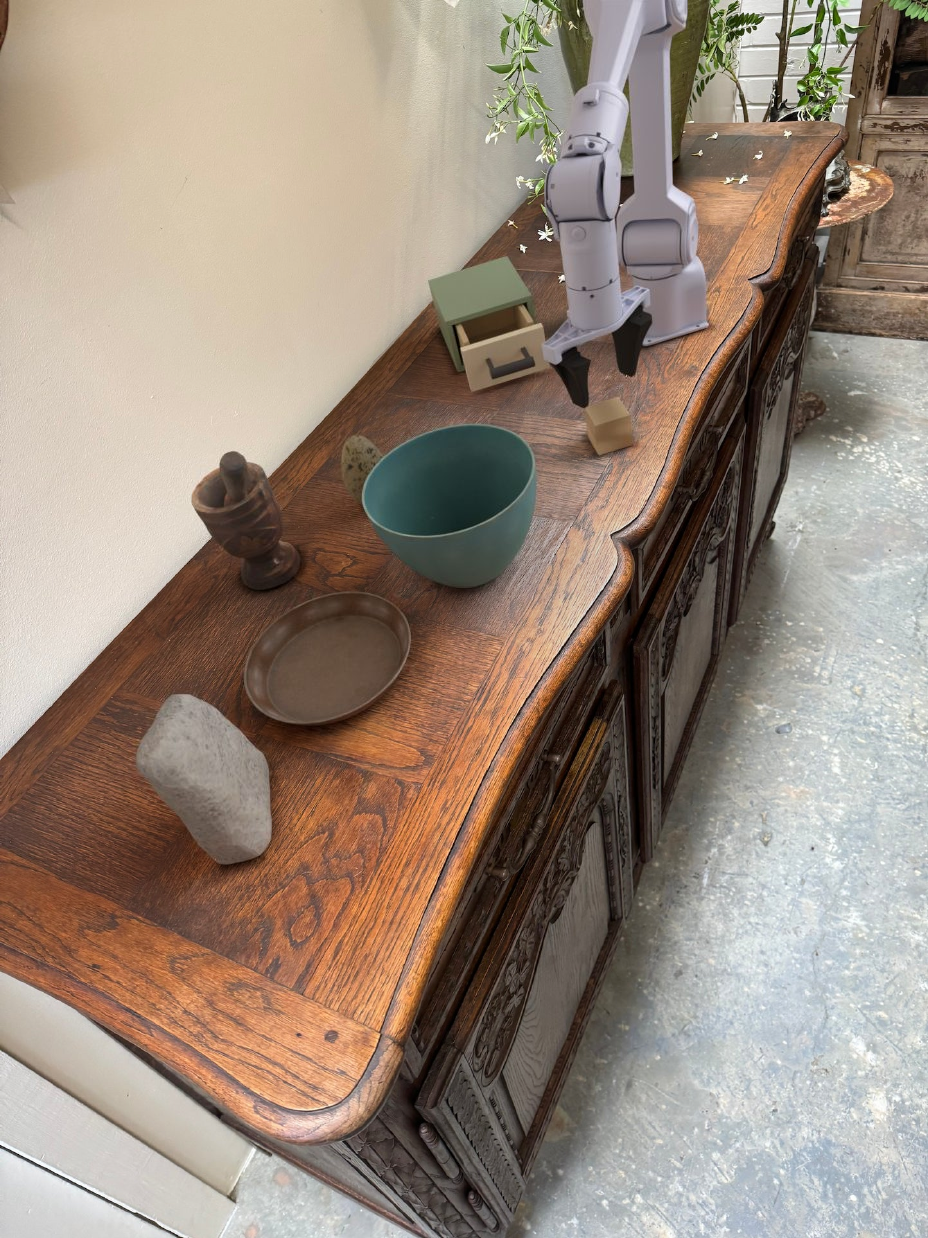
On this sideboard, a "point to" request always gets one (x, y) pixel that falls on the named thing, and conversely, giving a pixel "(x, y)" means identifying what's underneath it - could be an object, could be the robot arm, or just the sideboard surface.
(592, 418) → the block
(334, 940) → the sideboard surface
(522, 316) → the drawer
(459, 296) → the cabinet
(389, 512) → the plant pot
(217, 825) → the decorative stone
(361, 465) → the decorative egg
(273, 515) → the mortar and pestle
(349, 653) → the plant saucer
